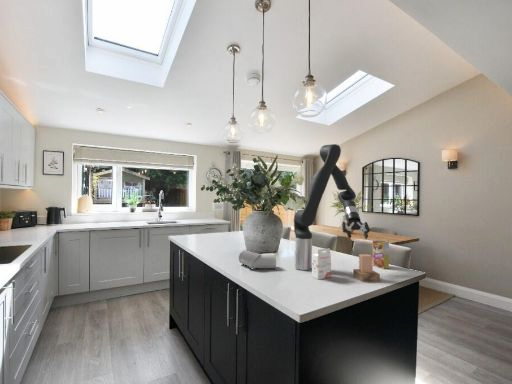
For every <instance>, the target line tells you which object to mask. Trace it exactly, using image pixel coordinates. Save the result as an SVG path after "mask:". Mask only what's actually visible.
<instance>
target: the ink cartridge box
mask: <svg viewBox="0 0 512 384" xmlns="http://www.w3.org/2000/svg"><path fill="white" fill-rule="evenodd" d="M331 256H332V254H331V248H320V249H317V253H312V269H311V277H312V278H313V279H316V280H322V279H328V278H332V259H331V258H332V257H331Z"/></svg>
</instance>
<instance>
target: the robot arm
mask: <svg viewBox="0 0 512 384" xmlns="http://www.w3.org/2000/svg"><path fill="white" fill-rule="evenodd" d="M341 149H342V148H341V146H340V145H339V144H334V143H333V144H325V145H324V144H323V145H322V146H321V147H320V148H319V156H320V158H321V160H322V161H323V163H324V164H322V166H321V167H320V168H319V169H318V170H317V171H316V172H315V173H314V174H313V176H312V178H311V180H310V183H309V185H308V193H307V195H308V197H307V202H306V204H305V206H304V209H299V210H296V212H295V213H294V216H293V217H294V218H293V228H294V230H293V232H294V235H295V250H294V268H295V269H296V270H299V269H300V271H310V270H311V271H312V254H313V233H312V232H311V231H310V226H312V225H313V224H314V222H315V220H316V217H317V213H318V209H319V207H320V203H321V201H322V198H323V195H324V194H325V191H326V188H327V186H328V182H329V180H330V178H331V176H332V178H333V181H334V183H335V186H336V189H337V190H338V191H341V192H339V193H338V194H337V198H338V201H339V202H340V203H341V204H342V207H343V210H344V217H345V220H346V222H345V221H342V224H341V227H342V228H341V229H342V232H343V233H346V235H347V238H349V239H351V238H352V234H351V231H359V232H361V233H363V235H364V239H365V240H367V239H368V237H369V233H370V231H371V229H370V226H369V223H368V222H367V221H365V222H362V221H361V217H360V213H359V211H358V209H357V206H356V202H355V201H354V200H355V199H356V197H357V196H356V195H357V194H356V192H355V191H354V190H353V188H352V187H351V186H350V184H349V182H348V179H347V177H346V175H345V174H344V172H343V171H342V170H341V169H340V168H339V166H338V165H337V163H338V161H339V159H340V157H341V154H342V150H341ZM346 227H348V228H346Z"/></svg>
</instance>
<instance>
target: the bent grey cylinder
mask: <svg viewBox="0 0 512 384" xmlns="http://www.w3.org/2000/svg"><path fill="white" fill-rule="evenodd" d="M238 261H239V263H240V264H241V263H242V264H241V265H243V264H244V265H243V266H245V265H247V266H246V267H248V266H249V268H275V269H276V267H277V257H276V253H274V252H272V253H269V252H268V253H262V254H260V253H258V252H257V253H256V252H254V251H253V252H252V251H249V250H246V249H245V250H242V251H241V252H239V255H238Z"/></svg>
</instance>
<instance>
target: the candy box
mask: <svg viewBox="0 0 512 384" xmlns="http://www.w3.org/2000/svg"><path fill="white" fill-rule="evenodd" d="M372 258H373V267H374V266H375V267H378V268H380V269H383V270H386V269H390V243H389V241H383V240H379V239H373V240H372Z"/></svg>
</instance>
